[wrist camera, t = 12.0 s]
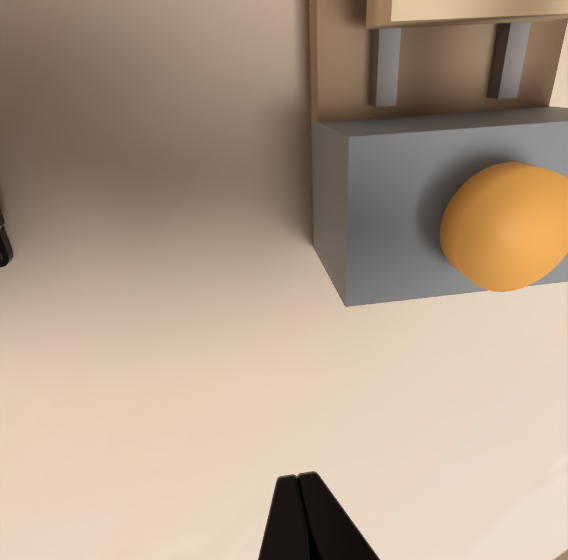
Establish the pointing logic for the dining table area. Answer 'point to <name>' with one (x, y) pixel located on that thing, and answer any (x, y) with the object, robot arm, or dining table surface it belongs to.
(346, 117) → the rail track
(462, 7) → the carriage
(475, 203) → the gauge button
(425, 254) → the gray block
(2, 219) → the robot arm
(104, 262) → the dining table surface
